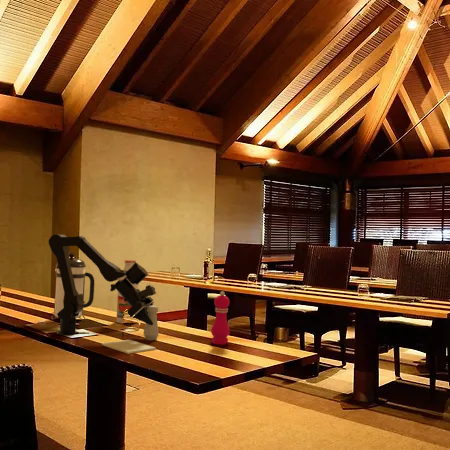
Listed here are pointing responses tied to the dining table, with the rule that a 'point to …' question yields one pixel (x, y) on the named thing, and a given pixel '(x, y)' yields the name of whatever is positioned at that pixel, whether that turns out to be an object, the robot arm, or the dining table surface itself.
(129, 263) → the fruit juice
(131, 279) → the robot arm
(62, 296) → the coffee press
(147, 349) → the sage mat
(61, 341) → the dining table surface
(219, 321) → the pepper mill
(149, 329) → the salt shaker
